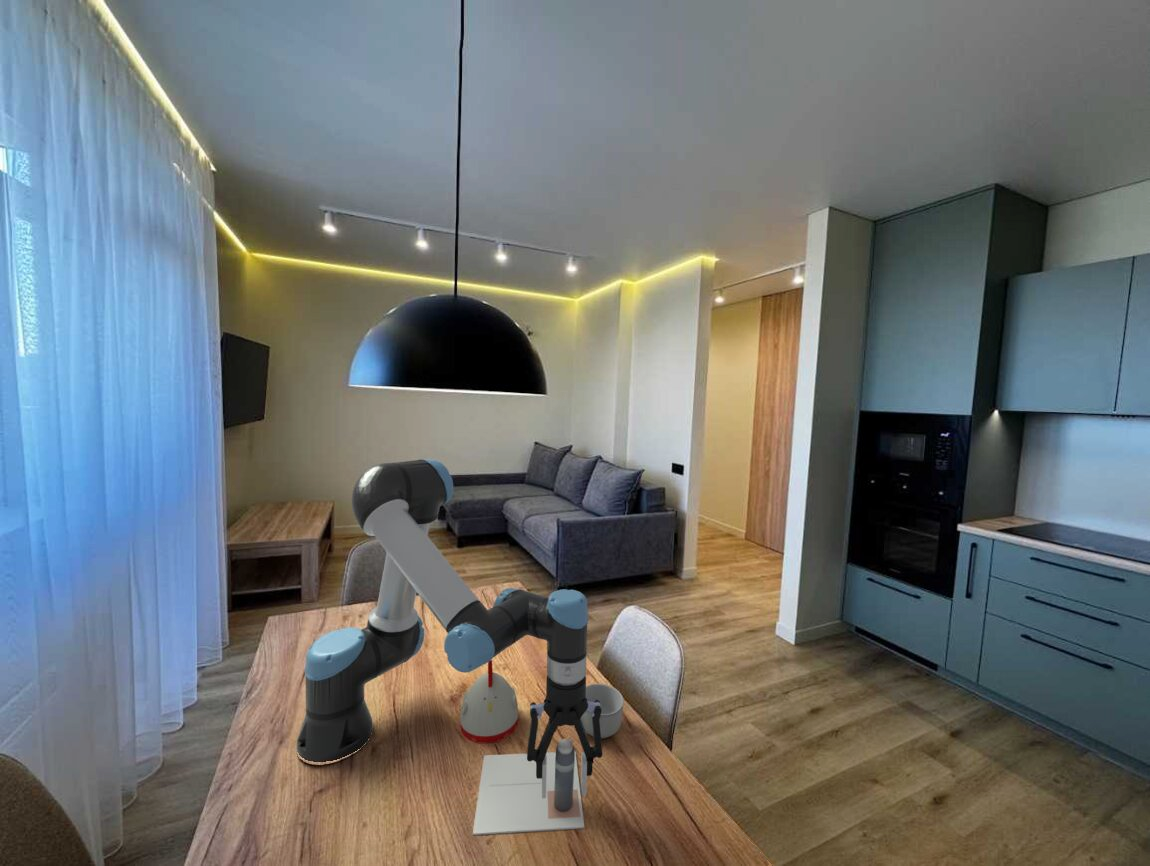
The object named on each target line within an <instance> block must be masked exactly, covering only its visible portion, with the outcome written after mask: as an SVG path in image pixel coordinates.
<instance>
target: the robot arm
mask: <svg viewBox="0 0 1150 866" xmlns="http://www.w3.org/2000/svg"><path fill="white" fill-rule="evenodd" d="M453 493H454V482H453V478H452V475H451V474H450V471H449V469H448V467H446V466H445V465H444V463H442V462H441V461H438V460H436V459H433V458H432V459H431V458H429V459H424V458H419V459H417V460H407V461H398V462H384V463H383V462H382V463H379V464H376V465H373V466H371V467H369V468H367V470H365V471H364V472H363V473H361V474H360V476H359V478H358V479H357V481H356V482H355V484H354V487H353V490H352V494H351V496H352V497H351V507H352V512H353V515H354V519H355V520H356V521H357V524H358V525H359V527H360V529H362V530H363V532H364V533H365V534H366V535H367V536H370V537H374V538H375V539H376V540H377V541H378V543H380V545H381V546H382V548H383V549H384V551H385V552H386V554H385V560H384V565H383V571H382V576H381V582H380V586H379V595H378V599H377V605H376V606H375V607H374V608H373V609H371V610H370V612H369V614H368V618H367V624H366V626H365V627H364V628H362V629H360V628H358V627H344V628H342V629H340V628H339V629H335V630H332V631H329V632H327V633H326V634H324V635H322V636H320V637H319V638H317V639H316V640H315V641H313V643H312V644H311V645H310V647H309V648H308V651H307V652H306V656H305V664H304V665H305V666H304V675H305V715H304V719H303V722H302V725H301V728H300V730H299V733H298V736H297V739H296V753H297V752H298V753H299V755H300V756H301V757H302V758H304V759H305V760H308V761H313V762H326V761H333V760H337V759H340V758H342V757H345V756H347V755H349V754H351V753H353V752H355V751H357V750H358V749H360V748H361V747H362V746H363V745H364V744H365V743H366V742H367V741H368V739H369V738H370V739H371V737H372V735H371V733H372V734H373V717H372V715H371V713H370V710H369V707H368V704H367V702H366V699H365V686H366V684H367V683H369V682H371V681H373V680H374V679H376V678H378V677H380V676H381V675H383V674H386V673H387V672H389V671H390V670H392V669H393V670H394V669H395V668H397V667H398V666H400V665H403V664H404V663H406V662H407V661H409V660H410V659H411V658H412V657H414V656H415V655H417V654H418V653H419V652H420V650H421V648H422V647H423V643H424V640H425V628H424V627H423V625H424V623H423V620H422V619H421V616H420V615H419V613H418V611H417V610H416V609H415V603H416V597H417V594H418V596H419V597H420V598H421V600H422V602H424V604H425V605H426V606H427V607H428V609H429V610H430V612H431V613H432V615H434V617H435V618H436V619H437V621H438V622H439V623H440V625H441V626H442V627H443V629H444V630H445V631H446V633H447V634H446V635H445V639H444V642H443V643H444V645H443V647H444V649H443V650H444V652H445V654H446V656H447V661H448V663H449V665H451V667H452V668H453V669H455V670H456V671H458V672H461V673H470V672H473V671H475V670H477V669H478V668H480V667H481V666H484V665H486V664H488V662H489V661H491V660H492V659H494V658H495V657H496V656H498V655H499V654H500V653H502V652H503V651H505V650H506V649H507V648H509V647H511V646H513V645H514V644H515V643H517V642H518V641H520V640H521V639H523V638H524V637H525V636H530V637H534V638H535V639H540V640H544V641H546V646H547V647H546V651H547V652H546V687H545V688H546V689H545V690H546V693H545V694H546V695H545V698H544V700H543V702H542V703H536V702H534V701H533V702H531V703H530V704H529V717H530V724H529V725H530V726H529V732H528V733H529V734H528V741H527V742H528V743H527V748H526V754H527V760H528V761H532V760H533V761H535V762H536V777H537V779H540V778H542V798H546V771H547V761H546V753H548V749H549V747H550V746H551V742H552V740H553V738H554V734H555V733H556V732H557V729H558V727H563V726H570V727H571V726H573V727H574V729H575V732H576V733H577V737H578V740H579V743H580V745H581V747H582V750H583V751H582V752H581V763H580V764H581V767H580V768H581V769H580V791H581V796H582V797H587V781H588V779H587V778H588V777H591V776H592V775H593V764H594V759H595V758H598V759H601V758H602V757H603V745H602V738H601V733H600V722H599V719H600V716H601V712H602V710H601V705H600V701H599V700H595V701H594V702H590V701H587V698H586V686H587V677H586V674H587V643H588V641H587V640H588V638H587V637H588V623H589V614H588V600H587V597H586V595H585V594H584V593H582V592H581V591H578V590H575V589H566V588H565V589H564V588H563V589H559V590H555V591H553V592H551V593H550V594H549V596H548V597H547V596H544V595H540V594H536V593H534V592H531V591H527V590H525V589H520V588H512V587H508V588H505V589H503V590H501V591H500V594H499V595H497V597H496V598H495V601H494V603H493V606H492V607H491V608H489V609H487V608H486V607H485V605H484V604H483V602H482V601H481V600H479V598H478V597H477V596H476V595H475V593H474V592H473V590H471V588H470V587H469V586H468V585H467V583H466V582H465V581H464V580H463V578H462V577H461V576H460V574H459V573H458V572H457V571H456V570H455V568H454V567H453V566H452V565H451V564H450V562H449V561H448V560H447V558H446V557H445V556H444V555H443V553H442V552H441V551H440V549H439V548H438V547H437V546H436V545H435V543H433V541H432V539H430V537H429V530H430V525H432V524H433V523H435V522H436V521H438V519H439V514H440V513H439V512H440V507H442V506H445V505H446V504H448V503H449V502H450V501H451V499H452V498H453V497H452V496H453ZM587 709H588V710H589V713H590V715H592V724H593V734H594V737H593V744H594V745H593V746H591V744H590V741H589V738H588V735H587V732H585V729H584V726H583V724H582V721H581V717H582V715H583V714H584V713H585V711H586V710H587ZM543 712H545V714H546V715H547V716H548V721H547V724H546V726H545V729H544V732H543V735H542V737H541V739H540V742H539V744H538V746H537V748H536V745H537V744H536V742H537V736H538V728H539V720H540V718H541V717H542V716H543ZM370 736H371V737H370ZM370 739H369V740H370ZM368 742H369V741H368ZM368 742H367V743H368ZM367 743H366V744H367ZM360 750H361V749H360Z"/></svg>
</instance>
